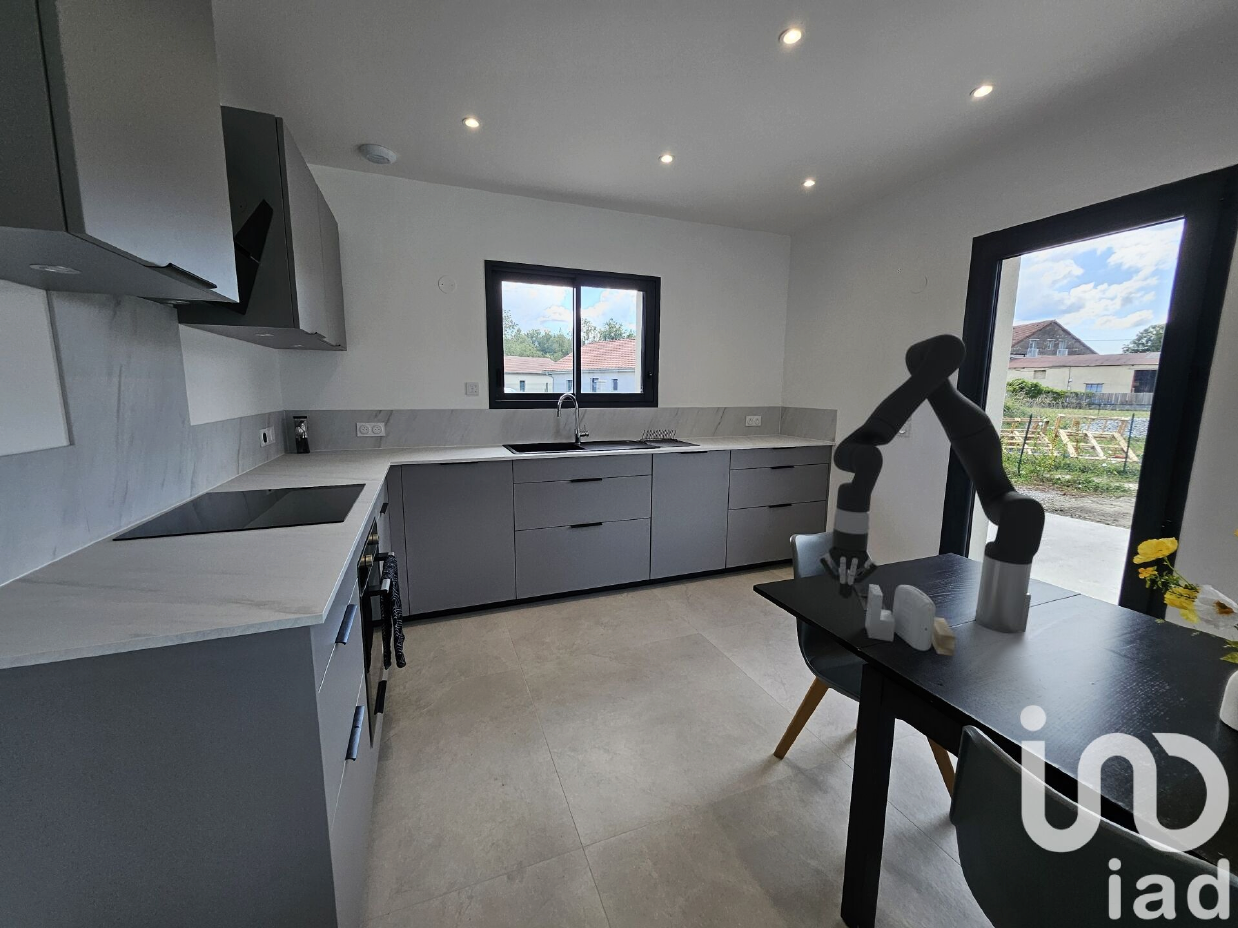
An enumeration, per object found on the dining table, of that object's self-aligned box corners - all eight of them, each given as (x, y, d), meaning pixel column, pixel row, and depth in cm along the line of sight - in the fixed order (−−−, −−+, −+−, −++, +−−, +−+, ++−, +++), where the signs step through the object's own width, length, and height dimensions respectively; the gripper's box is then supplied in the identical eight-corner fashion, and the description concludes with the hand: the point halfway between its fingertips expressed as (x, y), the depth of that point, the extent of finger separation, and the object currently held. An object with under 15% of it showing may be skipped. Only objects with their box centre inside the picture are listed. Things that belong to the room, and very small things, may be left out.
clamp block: (941, 636, 114) (943, 618, 113) (953, 655, 106) (955, 636, 105) (926, 633, 115) (929, 616, 114) (937, 653, 107) (939, 634, 106)
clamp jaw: (888, 629, 116) (892, 587, 115) (892, 641, 111) (897, 597, 109) (865, 625, 118) (869, 583, 116) (868, 637, 113) (873, 593, 111)
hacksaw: (852, 588, 142) (852, 583, 142) (891, 592, 139) (891, 587, 139) (870, 626, 119) (871, 621, 119) (917, 633, 116) (918, 627, 116)
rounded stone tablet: (934, 650, 108) (940, 598, 106) (915, 651, 107) (921, 599, 105) (904, 627, 118) (910, 580, 116) (887, 628, 118) (892, 580, 116)
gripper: (879, 526, 114) (872, 595, 117) (819, 520, 119) (814, 586, 122) (885, 535, 107) (877, 608, 110) (821, 528, 112) (815, 599, 115)
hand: (844, 597), depth 116 cm, fingers closed
